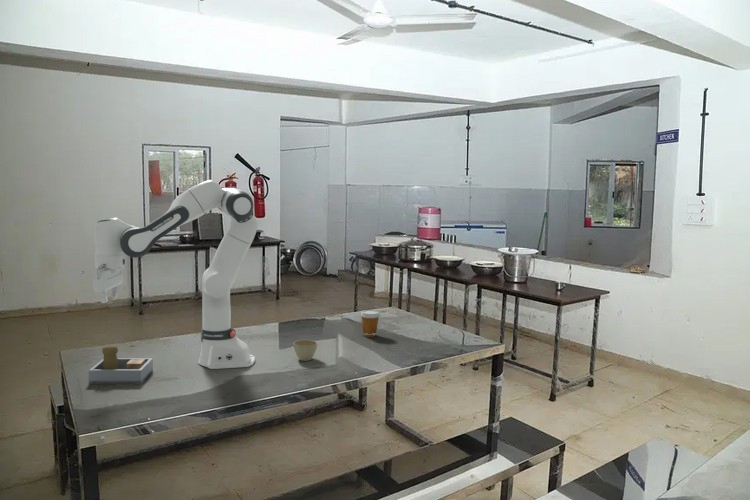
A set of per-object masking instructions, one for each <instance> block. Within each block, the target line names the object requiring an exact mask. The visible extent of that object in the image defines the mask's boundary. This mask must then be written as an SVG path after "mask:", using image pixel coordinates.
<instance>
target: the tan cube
mask: <svg viewBox="0 0 750 500" xmlns="http://www.w3.org/2000/svg"><path fill="white" fill-rule="evenodd" d="M144 364H145V359H131V360H130V361H129V362H128V363H127V364H126V365H127V369H140V368H141V367H142V366H143V365H144Z"/></svg>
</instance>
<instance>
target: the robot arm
mask: <svg viewBox="0 0 750 500" xmlns="http://www.w3.org/2000/svg"><path fill="white" fill-rule="evenodd" d="M214 209H218V210H220V211H221V212H223V213H224V214H226V215H227V216H229V217H230V222H229V226H228V228H227V230H226V232H225V234H224V235H223V237H222V239H221V241H220V243H219V244H218V247H217V248H216V252H215V254H214V256H213V258H212V259H211V260H212V261H211V263H210V265H209V266H208V268H206V269H205V270H204V272H203V274H202V275H201V277H202V278H201V279H202V280H201V283H202V284H201V285H202V287H201V289H202V291H201V292H202V293H201V295H202V297H201V298H202V299H201V301H202V306H201V309H202V310H201V312H202V318H201V319H202V328H201V330H200V342H201V347H200V348H201V349H200V354H199V358H198V361H197V362H198V364H199V365H200V366H202V367H206V368H208V369H210V370H221V369H234V368H248V367H251V366H253V365H254V363H255V361H256V358H255V355H254V354H250V353H251V352H250V349H249V346H248V344H247V343H246V342H244V341H242V340H241V339H240V338H238V337H237V336H236V335H237V334H236V333H237V331H236V328H234V327H232V326H231V321H232V320H231V317H232V316H231V315H232V314H231V309H232V308H231V289H232V286H233V285H234V282H235V281H236V278H237V275H238V273H239V270H240V268H241V266H242V263H243V261H244V259H245V257H246V255H247V253H248V251H249V249H250V248H251V245H252V243H253V242H254V239H255V236H256V234H257V231H258V227H259V220H258V219H257V216H255V215H254V200H253V198H252V197H251V196H250V194H249V193H248V192H246V191H244V190H242V189H239V188H235V187H233V186H232V187H231V186H226V187H225V186H224V187H223V186H221V185H220V183H218V182H217V181H215V180H211V179H209V180H205V181H202V182H200V183H197V184H196V185H193V186H191V187H190V188H188V189H187V190H185V191H183V192H182V193H180V194H179V195H178V196H177V197H176V198H175V199H174V200H173V201H172V203H171V204H170V206H169V209H168V210H167V211H166V212H165V213H164V214H162V215H161V216H159V217H158V218H156V219H154V220H153V221H152V222H150V223H149V224H147V225H145V226H143V227H138V226H135V225H132V224H129V223H127V222H124V221H123V220H121V219H120V218H118V217H109V218H108V217H107V218H102V219H100V220H97V222H96V224H95V226H94V227H95V228H94V245H95V252H94V268H96V270H95V271H94V273H93V278H92V279H93V281H92V290H93V292H94V293H99V294H98V296H99V297H100V303H101V304H107V303H108V300H109V299H108V296H107V294H108V291H109V290H111V292H110V298H112V299H115V298H117V297H118V292H119V291H118V290H119V285H122V284H123V283H124V281H125V265H126V264H127V262H126V258H124V257H123V253H124V254H125V255H126V256H128V257H130V258H134V259H135V258H142V257H144V256H146V255H147V254H149V252H150V250H151V249H152V248H153V246H154V244H155V243H156V242H157V241H158V240H160V239H161V238H163V237H165V236H166V235H167V234H169V233H171V232H172V231H173V230H175V229H177V228H179V227H180V226H183V225H184V224H187V223H190V222H193V221H194V220H196V219H198V218H200V217H202V216H203V215H206V214H207V213H208V212H210V211H211V210H214Z"/></svg>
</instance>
